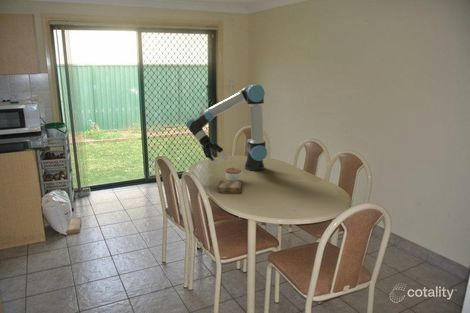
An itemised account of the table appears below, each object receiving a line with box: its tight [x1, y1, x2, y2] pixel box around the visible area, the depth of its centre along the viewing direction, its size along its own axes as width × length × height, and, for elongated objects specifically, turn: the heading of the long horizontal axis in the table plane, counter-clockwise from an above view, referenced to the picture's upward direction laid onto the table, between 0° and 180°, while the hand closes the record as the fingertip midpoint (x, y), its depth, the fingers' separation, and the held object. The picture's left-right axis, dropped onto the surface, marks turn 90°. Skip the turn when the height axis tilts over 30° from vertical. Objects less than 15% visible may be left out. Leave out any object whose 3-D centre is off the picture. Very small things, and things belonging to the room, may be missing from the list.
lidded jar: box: [225, 167, 242, 181], centre depth 242 cm, size 11×11×9 cm
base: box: [217, 180, 242, 194], centre depth 226 cm, size 14×14×3 cm
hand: (221, 161), depth 243 cm, fingers open, 13 cm apart
